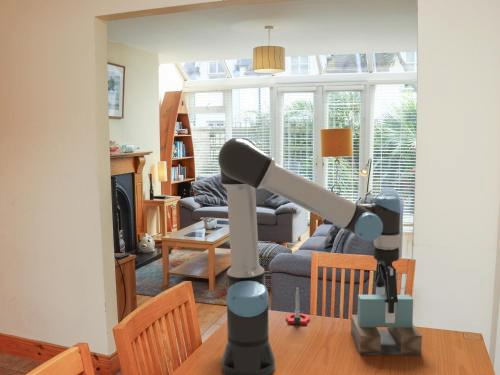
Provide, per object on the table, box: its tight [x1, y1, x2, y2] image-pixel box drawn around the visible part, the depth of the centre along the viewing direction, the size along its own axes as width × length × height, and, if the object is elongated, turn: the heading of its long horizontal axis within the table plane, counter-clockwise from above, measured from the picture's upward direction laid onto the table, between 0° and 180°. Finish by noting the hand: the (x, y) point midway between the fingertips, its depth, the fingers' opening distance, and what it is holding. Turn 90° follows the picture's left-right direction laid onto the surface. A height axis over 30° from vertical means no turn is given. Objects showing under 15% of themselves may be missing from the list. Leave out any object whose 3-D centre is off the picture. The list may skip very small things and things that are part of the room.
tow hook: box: [285, 287, 311, 326], centre depth 169 cm, size 8×13×9 cm
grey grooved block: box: [350, 314, 423, 356], centre depth 150 cm, size 18×16×6 cm
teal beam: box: [357, 294, 414, 328], centre depth 149 cm, size 16×4×9 cm, turn 88°
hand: (384, 314), depth 149 cm, fingers open, 12 cm apart
